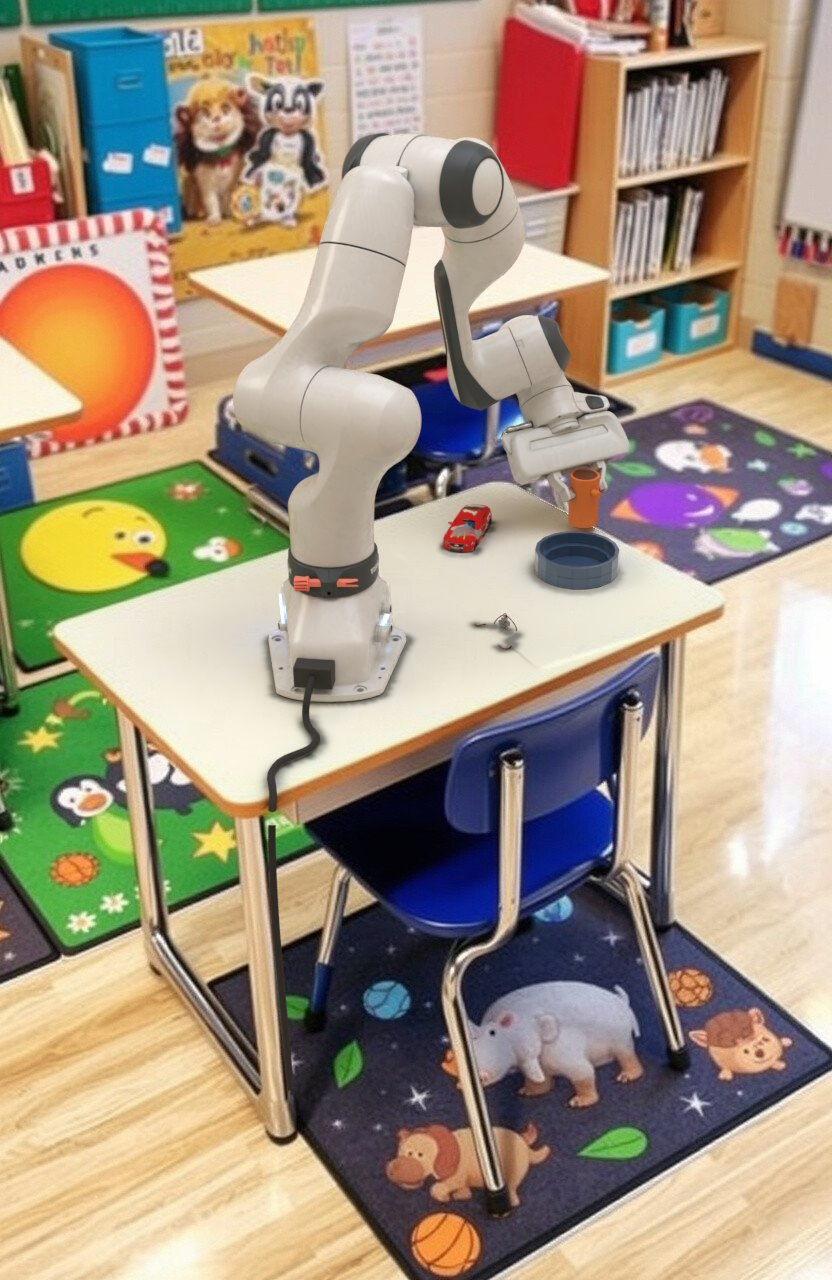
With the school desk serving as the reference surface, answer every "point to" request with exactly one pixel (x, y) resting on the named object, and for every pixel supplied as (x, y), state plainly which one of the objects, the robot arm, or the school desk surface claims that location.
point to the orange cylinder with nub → (584, 498)
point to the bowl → (576, 560)
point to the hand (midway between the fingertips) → (586, 496)
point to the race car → (468, 528)
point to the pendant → (503, 624)
